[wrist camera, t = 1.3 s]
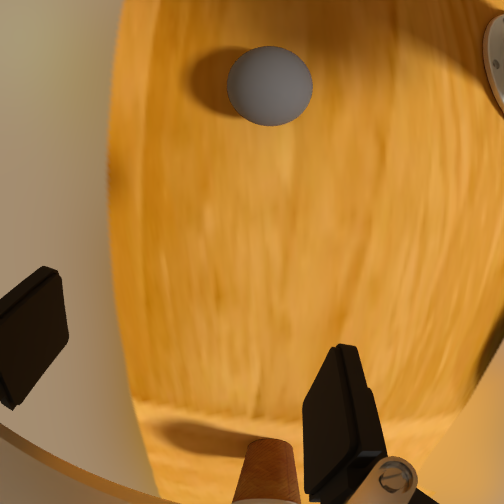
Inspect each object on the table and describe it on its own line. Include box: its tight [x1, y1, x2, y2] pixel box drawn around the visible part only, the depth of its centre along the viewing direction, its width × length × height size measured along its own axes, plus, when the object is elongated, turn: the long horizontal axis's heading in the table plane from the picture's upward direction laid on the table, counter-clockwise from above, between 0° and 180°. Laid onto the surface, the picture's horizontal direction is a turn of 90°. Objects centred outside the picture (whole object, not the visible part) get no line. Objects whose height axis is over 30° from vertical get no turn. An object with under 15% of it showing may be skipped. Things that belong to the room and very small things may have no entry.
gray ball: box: [227, 46, 313, 126], centre depth 18 cm, size 6×6×6 cm
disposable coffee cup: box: [232, 439, 301, 504], centre depth 32 cm, size 10×10×12 cm
